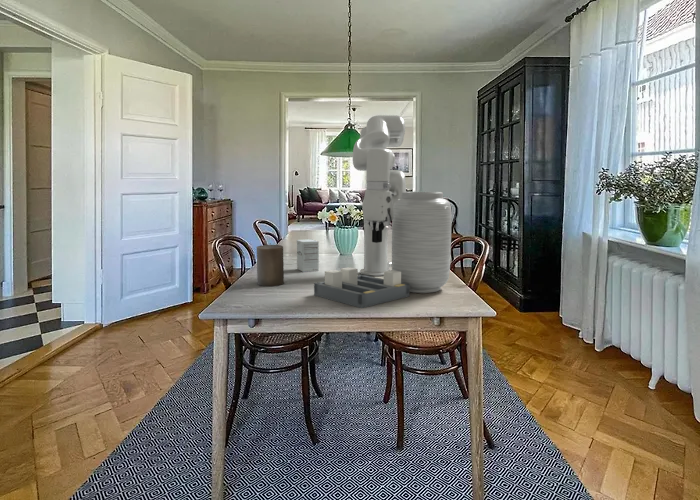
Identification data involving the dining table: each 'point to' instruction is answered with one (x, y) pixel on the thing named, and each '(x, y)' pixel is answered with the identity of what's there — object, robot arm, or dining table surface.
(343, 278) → the tab middle
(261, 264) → the pillar candle
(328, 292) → the switch bank
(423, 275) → the vase
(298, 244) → the supplement box
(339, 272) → the tab
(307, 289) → the dining table surface
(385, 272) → the tab
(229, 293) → the dining table surface
